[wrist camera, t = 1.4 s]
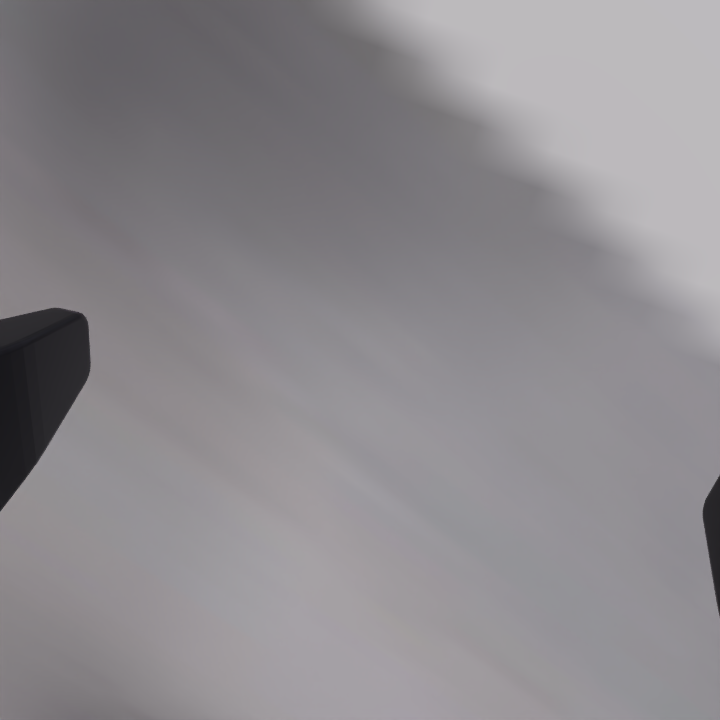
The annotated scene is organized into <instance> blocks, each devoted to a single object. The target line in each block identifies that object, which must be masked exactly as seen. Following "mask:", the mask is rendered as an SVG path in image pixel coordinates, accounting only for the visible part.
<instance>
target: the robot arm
mask: <svg viewBox="0 0 720 720" xmlns="http://www.w3.org/2000/svg"><path fill="white" fill-rule="evenodd" d="M90 363H91V362H90V345H89V328H88V321H87V319H86V317H85V316H84V315H83V314H82V313H79V312H75V311H71V310H66V309H61V308H50V309H46V310H41V311H37V312H32V313H28V314H24V315H19V316H15V317H10V318H6V319H1V320H0V511H1V510H2V509H3V507H4V506H5V505H6V503H7V502H8V501H9V499H10V498H11V497H12V496H13V494H14V493H15V492H16V490H17V489H18V488H19V486H20V485H21V484H22V482H23V481H24V480H25V479H26V477H27V476H28V475H29V473H30V472H31V470H32V469H33V468H34V466H35V465H36V464H37V462H38V461H39V459H40V457H41V456H42V454H43V453H44V451H45V450H46V448H47V446H48V445H49V443H50V441H51V440H52V438H53V436H54V435H55V433H56V431H57V430H58V428H59V426H60V425H61V423H62V421H63V420H64V418H65V416H66V414H67V413H68V411H69V409H70V408H71V406H72V404H73V403H74V401H75V399H76V398H77V396H78V394H79V393H80V391H81V389H82V388H83V386H84V384H85V383H86V381H87V378H88V376H89V372H90ZM703 522H704V528H705V534H706V540H707V546H708V552H709V558H710V564H711V570H712V577H713V583H714V589H715V595H716V601H717V606H718V611H719V616H720V476H719V477H718V479H717V481H716V482H715V484H714V486H713V488H712V489H711V491H710V493H709V495H708V496H707V498H706V500H705V503H704V507H703Z"/></svg>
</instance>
